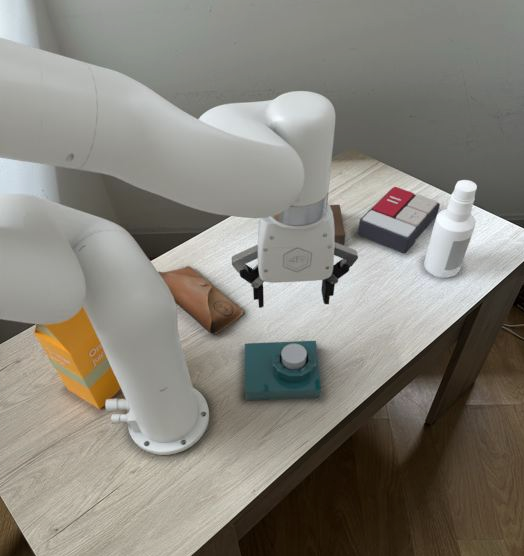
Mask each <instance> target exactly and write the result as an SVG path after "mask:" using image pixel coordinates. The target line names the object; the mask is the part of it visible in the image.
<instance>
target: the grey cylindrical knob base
mask: <svg viewBox="0 0 524 556" xmlns="http://www.w3.org/2000/svg"><path fill="white" fill-rule="evenodd" d="M289 344H299V345H301V346H303V347H304V348H305V349H306V352H307V360H306V364H305V365H304V366H303V367H302V368H300V369H297V370H291V369H288V368H286V367H285V366H284V365H283V364H282V359H281V352H282V350H283V348H284V347H285V346H287V345H289ZM244 398H245V401H259V400H264V401H265V400H285V399H311V398H322V384H321V374H320V364H319V356H318V346H317V340H299V341H296V340H295V341H275V342H274V341H273V342H252V343H249V342H248V343H244Z"/></svg>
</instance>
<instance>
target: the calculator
mask: <svg viewBox="0 0 524 556" xmlns="http://www.w3.org/2000/svg"><path fill="white" fill-rule="evenodd" d="M440 206H441V203H439V202H438V201H437V200H435V199H432V198H429V197H426V196H423V195H420V194H415V193H414V192H412V191H409V190H406V189H403V188H400V187H398V186H393V187H392V188H390V189H389V190H388V191H387V193H385V194H384V196H383V197H382V198H380V199H379V200H378V201H377V202H376V203H375V204H374V205H373V206H372V207H371V208H370V209H369V210H368V211H367V212H366V213H365V214H364V215H363V216H362V217H361V218H360V219H359V221H358V222H359V223H358V228H357V235H358V236H360V237H362V238H364V239H367V240H369V241H372V242H374V243H376V244H379V245H382V246H385V247H387V248H389V249H392V250H395V251H396V252H399V253H401V254H406V253H408V251H410V249H412V247H413V246H414V245H415V243H416V241H417V239H418V238H419V237H420V236H421V235H422V234H423V232H424V231H425V230H426V229H427V228H428V227H429V226H430V225H431V223H432V222H433V221H434V220H435V219H436V216H437V214H438V213H439V209H440Z"/></svg>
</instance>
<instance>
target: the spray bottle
mask: <svg viewBox="0 0 524 556" xmlns="http://www.w3.org/2000/svg"><path fill="white" fill-rule="evenodd" d="M477 187H478V185H477V184H476V183H475V182H474V181H472V180H469V179H462V180H458V181H457V182H456V184H455V186H454V189H453V190H452V193H451V195H450V199H449V202H448V204H447V207H446V208H444V209H442V210H441V211H438V213H437V216H436V217H435V219H434V220H435V221H434V224H433V227H432V232H431V235H430V239H429V243H428V247H427V249H426V254H425V257H424V261H423V267H424V269H425V270H426V271H427V273H429V274H430V275H432V276H434V277H437V278H440V279H442V278H443V279H445V278H446V279H448V278H451V277H454V276H456V275H457V274H458V273H460V271H461V268H462V265H463V262H464V259H465V256H466V253H467V250H468V247H469V246H470V243H471V239H472V237H473V233H474V230H475V228H476V218H475V216H474V215H472V209H473V205H474V203H475V200H476V198H475V196H476V191H477V189H478V188H477Z"/></svg>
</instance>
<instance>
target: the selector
mask: <svg viewBox="0 0 524 556" xmlns="http://www.w3.org/2000/svg"><path fill="white" fill-rule="evenodd" d="M329 205H330V207H331V210H332V212H333V217H334V229H335V242H336V243H339V244H341V245H344V246H345V243H346V230H345V226H344V220H343V214H342V210H341V205H340V204H329Z"/></svg>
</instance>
